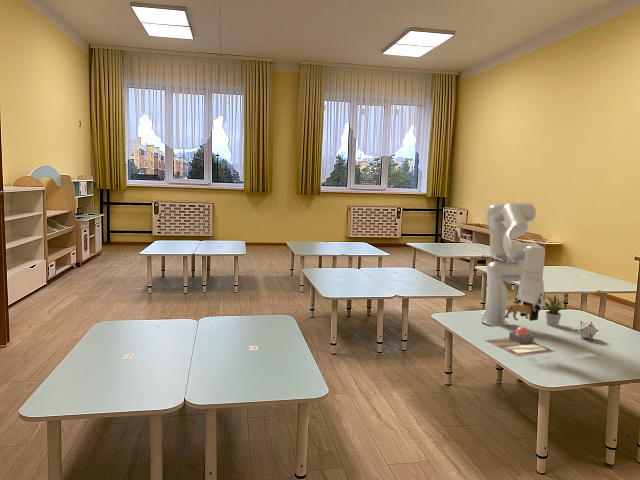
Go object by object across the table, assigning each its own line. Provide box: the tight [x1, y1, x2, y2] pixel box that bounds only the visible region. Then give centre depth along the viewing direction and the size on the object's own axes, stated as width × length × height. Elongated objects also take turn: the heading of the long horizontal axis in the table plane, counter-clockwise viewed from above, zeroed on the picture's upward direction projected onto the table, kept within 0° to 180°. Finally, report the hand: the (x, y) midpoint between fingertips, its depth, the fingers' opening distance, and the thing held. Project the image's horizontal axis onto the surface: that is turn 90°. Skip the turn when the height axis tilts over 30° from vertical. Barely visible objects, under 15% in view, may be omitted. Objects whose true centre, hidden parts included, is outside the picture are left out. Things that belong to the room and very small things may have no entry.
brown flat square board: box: [484, 336, 556, 357], centre depth 204 cm, size 20×20×1 cm
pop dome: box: [515, 326, 529, 337], centre depth 210 cm, size 5×5×6 cm
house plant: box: [544, 293, 570, 327], centre depth 239 cm, size 14×14×16 cm
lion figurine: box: [504, 302, 537, 322], centre depth 198 cm, size 15×5×9 cm, turn 96°
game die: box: [574, 320, 600, 341], centre depth 219 cm, size 9×8×10 cm
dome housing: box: [508, 330, 535, 344], centre depth 211 cm, size 7×7×3 cm
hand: (528, 317), depth 199 cm, fingers closed on lion figurine, 5 cm apart
